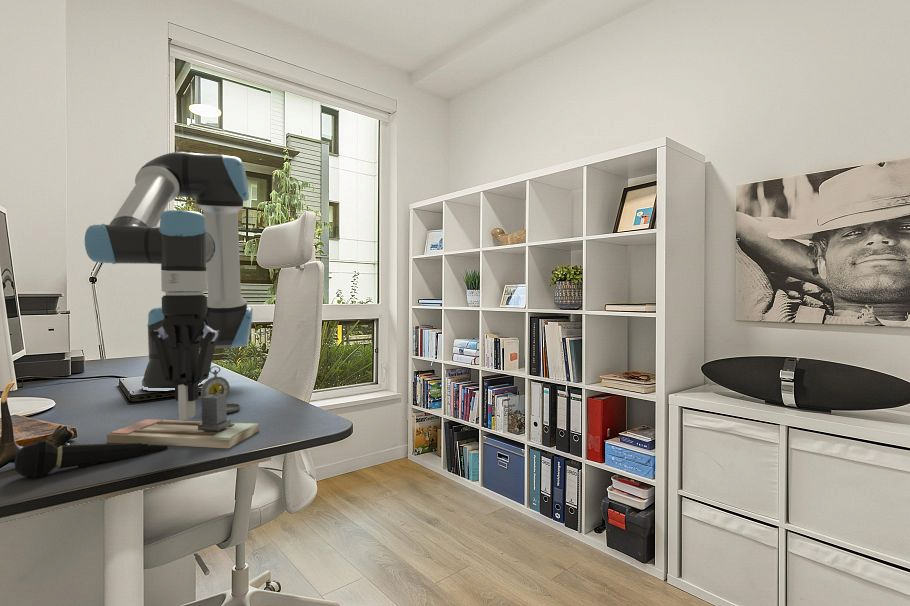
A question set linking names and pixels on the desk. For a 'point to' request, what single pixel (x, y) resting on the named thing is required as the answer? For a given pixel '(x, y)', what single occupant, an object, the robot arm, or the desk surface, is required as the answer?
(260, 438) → the desk surface
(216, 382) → the pocket watch
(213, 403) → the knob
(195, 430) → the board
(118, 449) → the microphone
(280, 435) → the desk surface
